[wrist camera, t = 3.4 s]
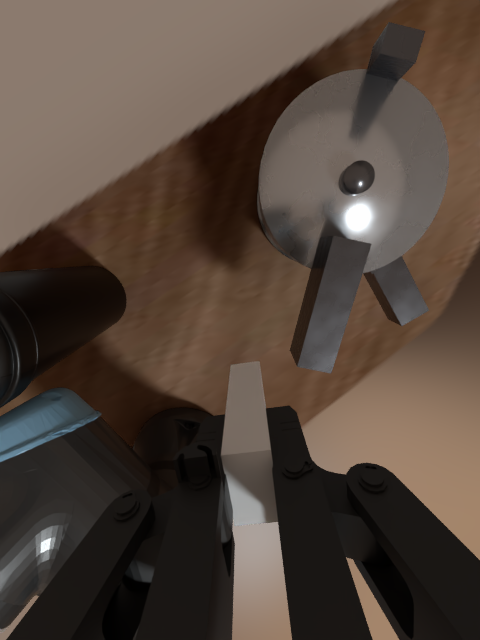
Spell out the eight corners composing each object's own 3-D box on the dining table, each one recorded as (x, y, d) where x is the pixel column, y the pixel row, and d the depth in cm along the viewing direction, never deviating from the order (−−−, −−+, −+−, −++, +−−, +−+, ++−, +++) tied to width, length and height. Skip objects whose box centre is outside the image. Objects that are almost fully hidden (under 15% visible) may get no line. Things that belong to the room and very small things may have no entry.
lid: (286, 36, 22) (298, -24, 17) (475, 82, 23) (540, 37, 18) (226, 333, 29) (222, 352, 24) (375, 363, 30) (403, 387, 24)
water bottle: (89, 242, 36) (-164, 236, 14) (148, 300, 38) (11, 379, 15) (41, 295, 38) (-252, 367, 15) (99, 348, 39) (-87, 481, 17)
